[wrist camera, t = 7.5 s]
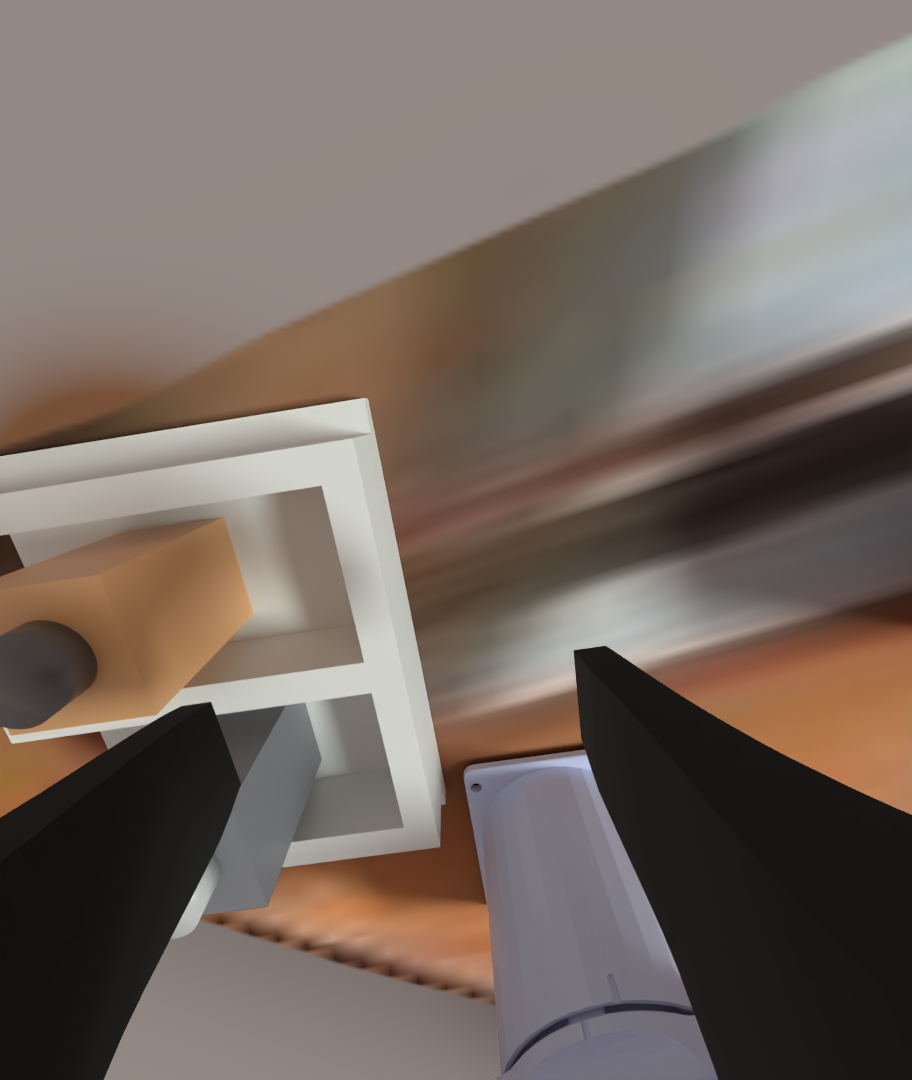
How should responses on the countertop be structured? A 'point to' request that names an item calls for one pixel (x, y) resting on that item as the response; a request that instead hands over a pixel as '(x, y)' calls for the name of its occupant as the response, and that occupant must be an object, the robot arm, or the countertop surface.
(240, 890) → the charcoal plug
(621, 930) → the robot arm
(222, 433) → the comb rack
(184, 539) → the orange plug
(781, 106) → the countertop surface
